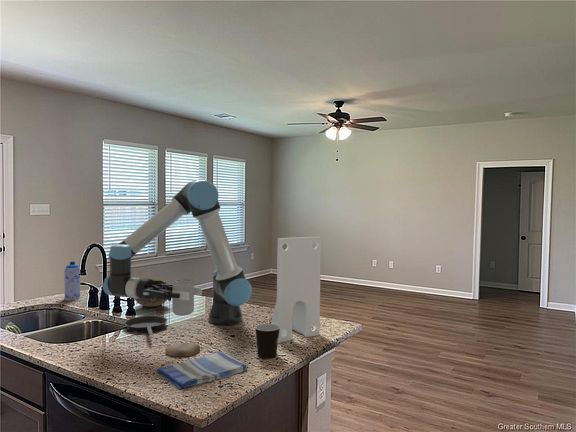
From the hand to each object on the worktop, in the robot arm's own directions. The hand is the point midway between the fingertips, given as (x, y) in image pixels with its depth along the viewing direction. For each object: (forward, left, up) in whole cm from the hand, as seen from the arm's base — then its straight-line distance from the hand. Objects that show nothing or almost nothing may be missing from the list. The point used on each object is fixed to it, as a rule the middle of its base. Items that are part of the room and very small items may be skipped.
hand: (195, 293), depth 149 cm
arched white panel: (-39, -14, -21) cm, 46 cm away
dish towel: (-2, +17, -22) cm, 28 cm away
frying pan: (+17, -29, -21) cm, 40 cm away
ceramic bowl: (+17, -69, -21) cm, 74 cm away
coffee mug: (-26, +7, -21) cm, 34 cm away
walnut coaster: (+4, -3, -21) cm, 22 cm away
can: (+4, -3, -8) cm, 9 cm away
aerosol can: (+59, -97, -21) cm, 116 cm away
